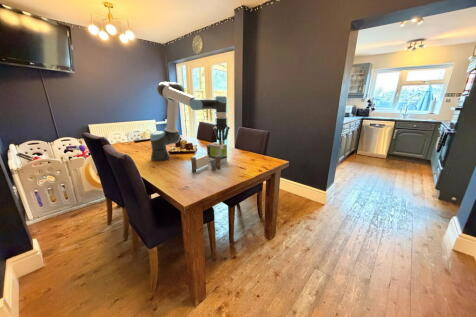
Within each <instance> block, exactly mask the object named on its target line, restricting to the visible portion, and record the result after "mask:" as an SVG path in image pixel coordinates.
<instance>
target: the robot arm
mask: <svg viewBox="0 0 476 317" xmlns="http://www.w3.org/2000/svg"><path fill="white" fill-rule="evenodd" d="M156 91H157V94H158V95H159V96H161V97H162V98H165V99H166V100H167V111H166V112H167V113H166V126H165V128H164V130H159V131H154V132H151V133H150V136H149V140H150V144H151V145H150V146H151V154H150V160H151V161H155V162H160V161H161V162H162V161H166V160H168V159H170V154H169V152H168V150H167V146H169V145H173V144H177V143H178V142H179V141H180V140H181V134H180V132H179V130H178V128H177V126H178V113H179V103H180V104H183V105H185V106H187V107H190V108H191V109H192V110H193V111H200V110H201V111H204V110H215V117H216V121H215V122H216V123H215V126H214V127H213V128H212V129H213V130H214V135H215V138H216V140H217V141H219V142H218V143H219V144H220V148H221V149H223V144H225V141H226V140H227V139H228V135H229V131H230V126H228V124H227V96H226V95H225V96H224V95H216V96H215V98H198V97H196V96H194V95H191V94H188V93H185V89H184V87H183V85H182V84H181V83H179V82H176V81H175V82H173V81H170V82H169V81H161V82H160V83H159V84H158V85H157V88H156Z"/></svg>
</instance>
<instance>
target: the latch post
mask: <svg viewBox="0 0 476 317" xmlns="http://www.w3.org/2000/svg"><path fill="white" fill-rule="evenodd" d="M215 157H216V170H221V166H222V165H221V163H220V156H219V155H217V156H215Z"/></svg>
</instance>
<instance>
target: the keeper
mask: <svg viewBox="0 0 476 317" xmlns="http://www.w3.org/2000/svg"><path fill="white" fill-rule="evenodd" d="M210 163H211V165H210V168H211V169H210V170H211V171H217V169H216V160H215V159H214V160H211V161H210Z"/></svg>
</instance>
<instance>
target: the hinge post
mask: <svg viewBox="0 0 476 317" xmlns="http://www.w3.org/2000/svg"><path fill="white" fill-rule="evenodd" d="M196 158H197V157H195V156H192V157H190V161H191V162H190V163H191V173H192V174H195V173H197V169H196Z"/></svg>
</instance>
